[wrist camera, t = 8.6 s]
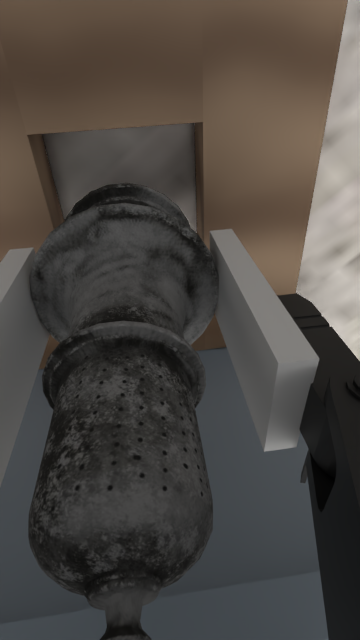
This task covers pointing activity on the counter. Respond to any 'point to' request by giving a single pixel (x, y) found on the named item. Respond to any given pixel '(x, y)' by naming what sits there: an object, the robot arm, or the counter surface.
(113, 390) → the dark grey chess piece
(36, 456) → the grey upright panel
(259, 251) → the socket block
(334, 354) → the robot arm
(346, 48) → the counter surface
